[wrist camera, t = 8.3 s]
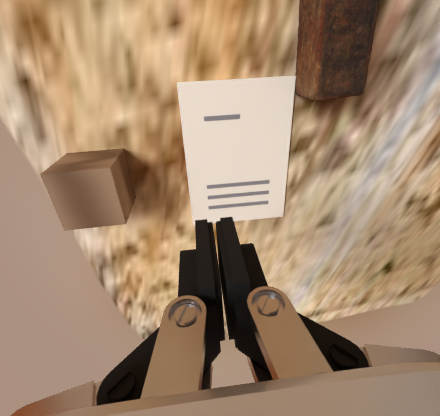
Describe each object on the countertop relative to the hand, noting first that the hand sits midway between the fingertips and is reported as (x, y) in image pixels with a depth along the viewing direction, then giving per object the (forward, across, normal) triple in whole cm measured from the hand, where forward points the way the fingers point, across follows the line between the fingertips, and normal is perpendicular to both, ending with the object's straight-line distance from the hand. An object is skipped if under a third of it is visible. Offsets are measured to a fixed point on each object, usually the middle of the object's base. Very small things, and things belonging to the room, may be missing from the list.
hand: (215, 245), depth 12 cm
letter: (+15, -3, +1) cm, 15 cm away
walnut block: (+15, +10, +2) cm, 18 cm away
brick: (+15, -10, -10) cm, 21 cm away
